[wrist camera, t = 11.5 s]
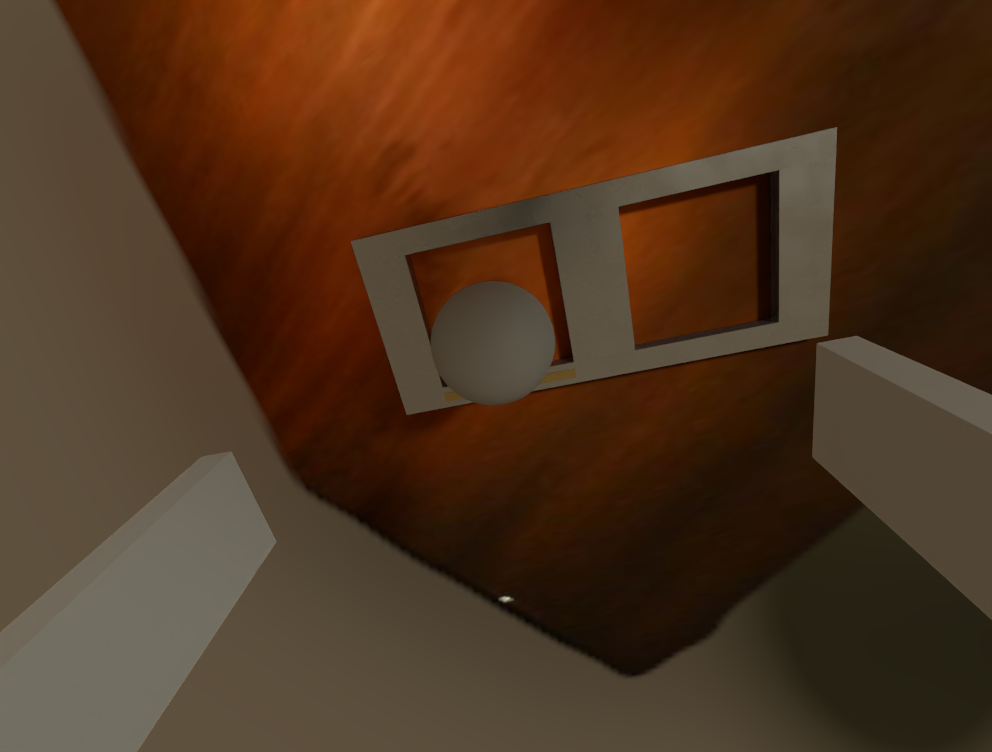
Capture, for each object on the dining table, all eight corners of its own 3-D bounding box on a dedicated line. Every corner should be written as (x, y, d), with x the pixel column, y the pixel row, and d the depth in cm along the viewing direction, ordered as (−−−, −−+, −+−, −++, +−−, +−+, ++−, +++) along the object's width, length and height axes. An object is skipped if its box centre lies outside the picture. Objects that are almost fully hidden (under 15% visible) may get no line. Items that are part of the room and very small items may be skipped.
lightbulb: (528, 246, 29) (540, 276, 19) (553, 336, 31) (576, 407, 21) (436, 275, 30) (400, 319, 19) (466, 361, 32) (448, 441, 22)
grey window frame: (355, 239, 29) (350, 241, 28) (825, 129, 26) (837, 126, 25) (409, 408, 33) (406, 415, 32) (818, 330, 30) (828, 335, 29)
